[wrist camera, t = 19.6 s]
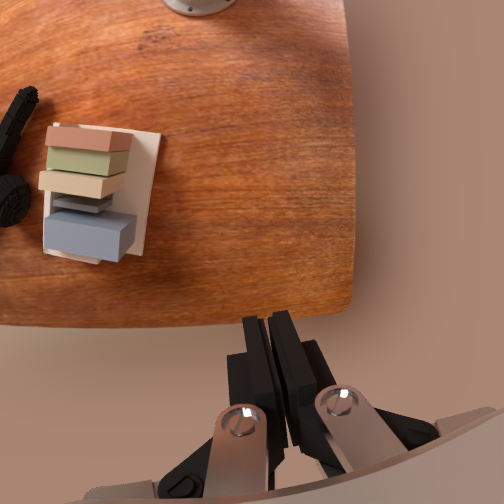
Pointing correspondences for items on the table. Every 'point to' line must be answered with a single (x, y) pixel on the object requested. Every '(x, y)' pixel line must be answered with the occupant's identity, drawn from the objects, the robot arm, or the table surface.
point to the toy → (3, 145)
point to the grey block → (90, 233)
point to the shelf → (122, 196)
